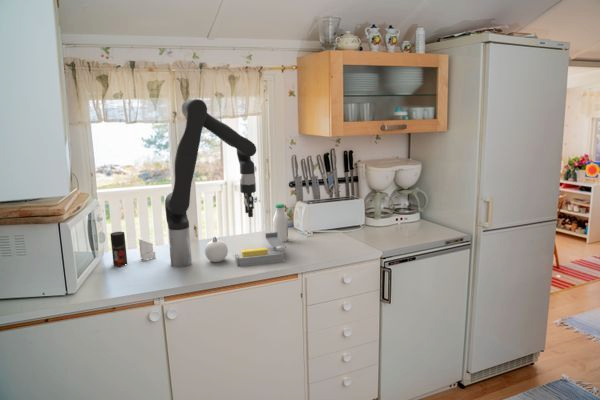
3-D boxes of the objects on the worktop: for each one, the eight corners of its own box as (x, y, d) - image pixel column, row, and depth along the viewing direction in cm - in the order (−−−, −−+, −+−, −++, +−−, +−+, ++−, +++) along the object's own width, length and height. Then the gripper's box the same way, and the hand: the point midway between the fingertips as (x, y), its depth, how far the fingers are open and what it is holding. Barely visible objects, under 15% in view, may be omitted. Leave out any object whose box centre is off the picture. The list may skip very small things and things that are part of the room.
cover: (275, 251, 209) (275, 245, 208) (265, 238, 230) (265, 233, 229) (288, 250, 211) (287, 244, 210) (277, 237, 231) (276, 232, 231)
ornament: (210, 266, 204) (209, 241, 202) (202, 260, 213) (201, 235, 210) (231, 262, 210) (230, 237, 207) (223, 256, 218) (221, 232, 216)
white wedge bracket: (131, 256, 212) (138, 239, 214) (149, 262, 220) (156, 245, 221) (135, 258, 210) (142, 240, 212) (153, 263, 217) (160, 246, 219)
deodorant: (128, 262, 212) (125, 231, 209) (126, 266, 207) (122, 234, 204) (115, 263, 211) (112, 232, 208) (112, 267, 206) (108, 235, 203)
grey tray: (237, 267, 203) (237, 257, 202) (232, 256, 218) (232, 247, 217) (285, 261, 209) (285, 252, 208) (277, 251, 224) (277, 242, 223)
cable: (242, 258, 214) (242, 252, 213) (241, 255, 217) (241, 249, 216) (267, 255, 217) (267, 249, 216) (266, 253, 220) (266, 247, 220)
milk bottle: (286, 243, 237) (285, 206, 233) (271, 242, 239) (270, 205, 235) (289, 239, 245) (288, 202, 241) (275, 238, 246) (274, 202, 242)
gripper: (237, 180, 227) (239, 212, 230) (242, 185, 213) (243, 218, 216) (252, 179, 229) (254, 211, 232) (258, 184, 215) (259, 217, 218)
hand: (249, 214), depth 224 cm, fingers open, 8 cm apart
